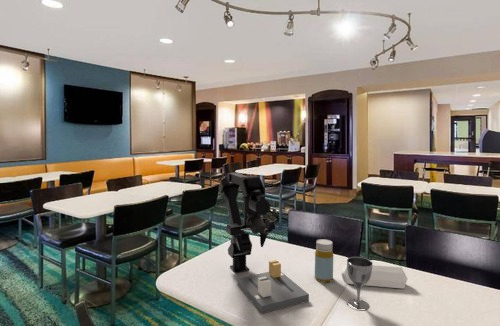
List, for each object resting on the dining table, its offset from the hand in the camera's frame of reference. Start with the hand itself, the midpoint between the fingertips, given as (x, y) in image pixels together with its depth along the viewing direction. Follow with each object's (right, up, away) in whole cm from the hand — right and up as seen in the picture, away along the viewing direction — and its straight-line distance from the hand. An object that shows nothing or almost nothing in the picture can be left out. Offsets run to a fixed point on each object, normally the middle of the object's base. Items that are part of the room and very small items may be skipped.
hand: (251, 248), depth 120 cm
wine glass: (+36, -15, -15) cm, 42 cm away
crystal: (+47, -14, 0) cm, 49 cm away
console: (+7, -14, -7) cm, 17 cm away
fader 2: (+9, -10, 0) cm, 14 cm away
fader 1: (+4, -12, -14) cm, 19 cm away
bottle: (+29, -13, +3) cm, 32 cm away
